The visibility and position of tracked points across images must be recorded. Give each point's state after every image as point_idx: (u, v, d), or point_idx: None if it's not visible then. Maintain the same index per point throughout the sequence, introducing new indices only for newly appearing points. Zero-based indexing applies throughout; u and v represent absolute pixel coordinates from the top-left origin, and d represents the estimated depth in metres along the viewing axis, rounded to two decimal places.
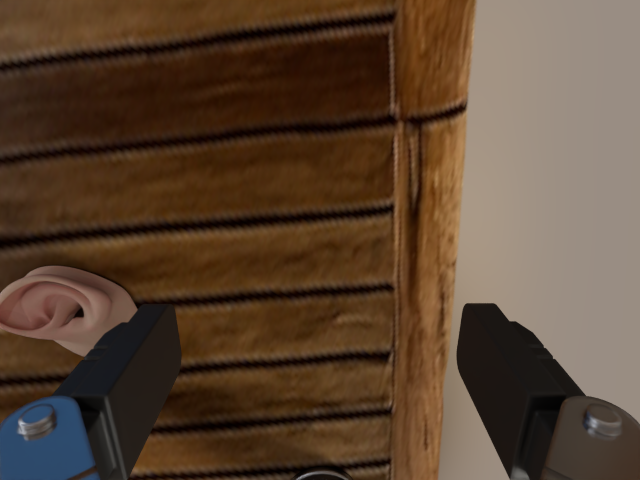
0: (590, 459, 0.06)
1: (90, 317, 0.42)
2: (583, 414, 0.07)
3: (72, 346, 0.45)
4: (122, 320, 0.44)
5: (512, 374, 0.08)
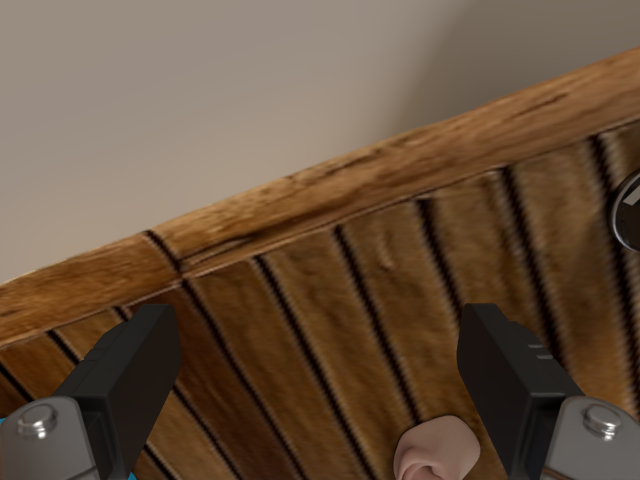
0: (590, 459, 0.06)
1: (427, 464, 0.49)
2: (583, 414, 0.07)
3: (467, 465, 0.52)
4: (431, 436, 0.50)
5: (512, 374, 0.08)
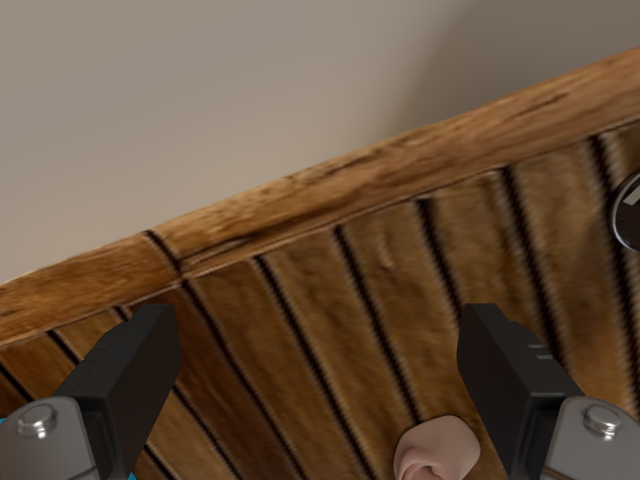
0: (590, 459, 0.06)
1: (427, 464, 0.49)
2: (583, 414, 0.07)
3: (467, 465, 0.52)
4: (431, 436, 0.50)
5: (512, 374, 0.08)
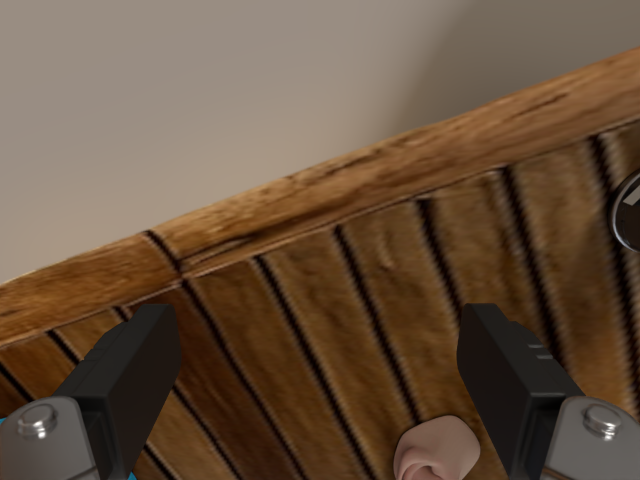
0: (590, 459, 0.06)
1: (427, 464, 0.49)
2: (583, 414, 0.07)
3: (467, 465, 0.52)
4: (431, 436, 0.50)
5: (512, 374, 0.08)
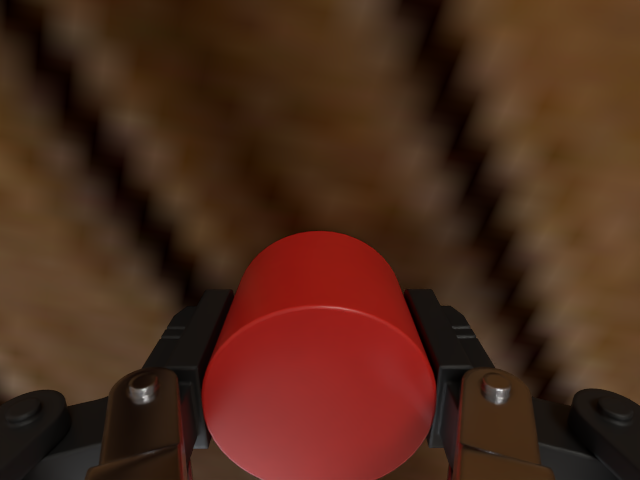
0: (493, 425, 0.07)
1: None
2: (480, 382, 0.08)
3: None
4: None
5: (430, 350, 0.09)
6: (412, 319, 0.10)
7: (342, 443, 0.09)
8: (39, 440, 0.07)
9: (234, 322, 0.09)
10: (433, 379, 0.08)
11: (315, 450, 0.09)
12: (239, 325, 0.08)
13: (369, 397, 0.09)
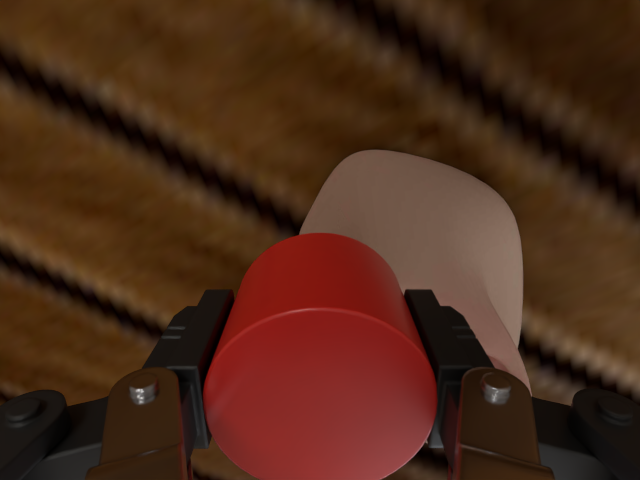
0: (493, 425, 0.07)
1: None
2: (480, 382, 0.08)
3: (493, 255, 0.18)
4: None
5: (430, 350, 0.09)
6: (413, 321, 0.10)
7: (343, 445, 0.09)
8: (39, 440, 0.07)
9: (236, 324, 0.09)
10: (434, 381, 0.08)
11: (317, 452, 0.09)
12: (242, 328, 0.08)
13: (370, 399, 0.09)
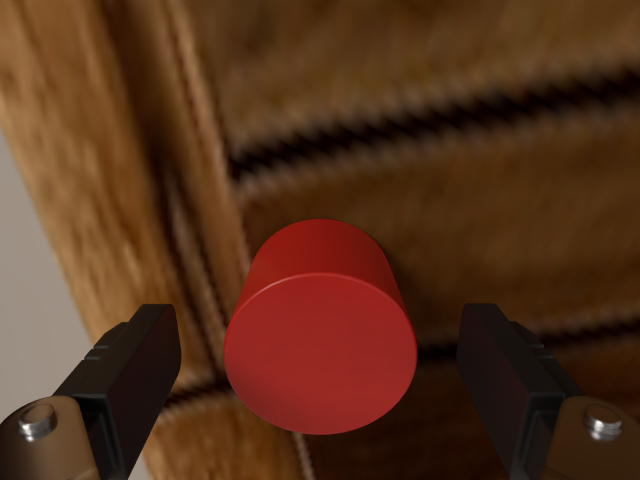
0: (590, 459, 0.06)
1: None
2: (583, 414, 0.07)
3: None
4: None
5: (512, 374, 0.08)
6: None
7: (339, 392, 0.11)
8: None
9: (250, 289, 0.10)
10: (414, 335, 0.10)
11: (317, 397, 0.11)
12: (256, 290, 0.10)
13: (361, 351, 0.10)
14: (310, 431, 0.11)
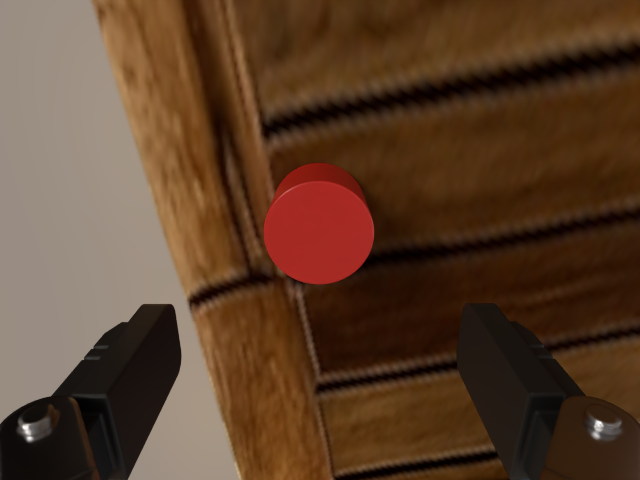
0: (590, 459, 0.06)
1: None
2: (583, 414, 0.07)
3: None
4: None
5: (512, 374, 0.08)
6: None
7: (329, 255, 0.19)
8: None
9: (279, 193, 0.18)
10: (371, 219, 0.18)
11: (317, 259, 0.19)
12: (283, 192, 0.18)
13: (342, 229, 0.18)
14: (313, 281, 0.19)
